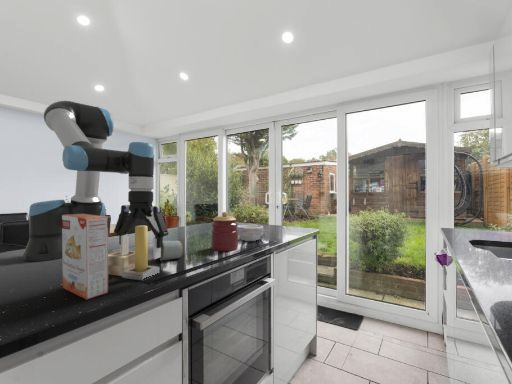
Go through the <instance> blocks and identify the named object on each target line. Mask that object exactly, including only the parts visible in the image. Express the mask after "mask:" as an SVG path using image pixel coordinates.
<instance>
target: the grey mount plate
mask: <svg viewBox="0 0 512 384" xmlns="http://www.w3.org/2000/svg"><path fill="white" fill-rule="evenodd" d="M157 273H158V274H160V266H156V265H155V266H154V265H148V270H146V271H144V272H136V271H135V267H133V268H130V269H127V270H125V271H122V276H121V278H123V279H130V280H137V281H144V280H143V279H144V278H146V277H149V276H151V277H153V276H152V275H154V276H155V274H156V275H157ZM149 278H150V277H149Z"/></svg>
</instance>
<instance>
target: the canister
mask: <svg viewBox="0 0 512 384" xmlns="http://www.w3.org/2000/svg"><path fill="white" fill-rule="evenodd" d="M212 220H213V222H211V224H210V226H211V231H210V235H211V236H210V239H211V241H210V247H211V248H210V249H211V250H213V251H216V252H231V251H236V250H237V249H238V247H239V241H238V240H239V238H238V237H239V235H238V230H237V226H238V225H239V223H238V222H237V221H236V220H237V218H236V217H234V216H232V215H228V213H227V211H222V213H221V215H217V216H215V217H214V218H212Z"/></svg>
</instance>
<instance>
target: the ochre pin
mask: <svg viewBox="0 0 512 384" xmlns="http://www.w3.org/2000/svg"><path fill="white" fill-rule="evenodd" d="M148 226H149V225H135V226H134V251H135V271H136V272H144V271H146V270H148V266H149V264H148V261H149V260H148V257H149V256H148V251H149V250H148V244H149V243H148V241H149V240H148V235H149V234H148V232H149V231H148V230H149V229H148Z"/></svg>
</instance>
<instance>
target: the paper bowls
mask: <svg viewBox="0 0 512 384" xmlns="http://www.w3.org/2000/svg"><path fill="white" fill-rule="evenodd" d="M237 230H238V237H239V238H240V240H242V241H243V240H244V241H245V242H257V241H259V240H260V237H261V236H263V235H264V226H263V225H257V224H238V225H237ZM256 240H257V241H256Z"/></svg>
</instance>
